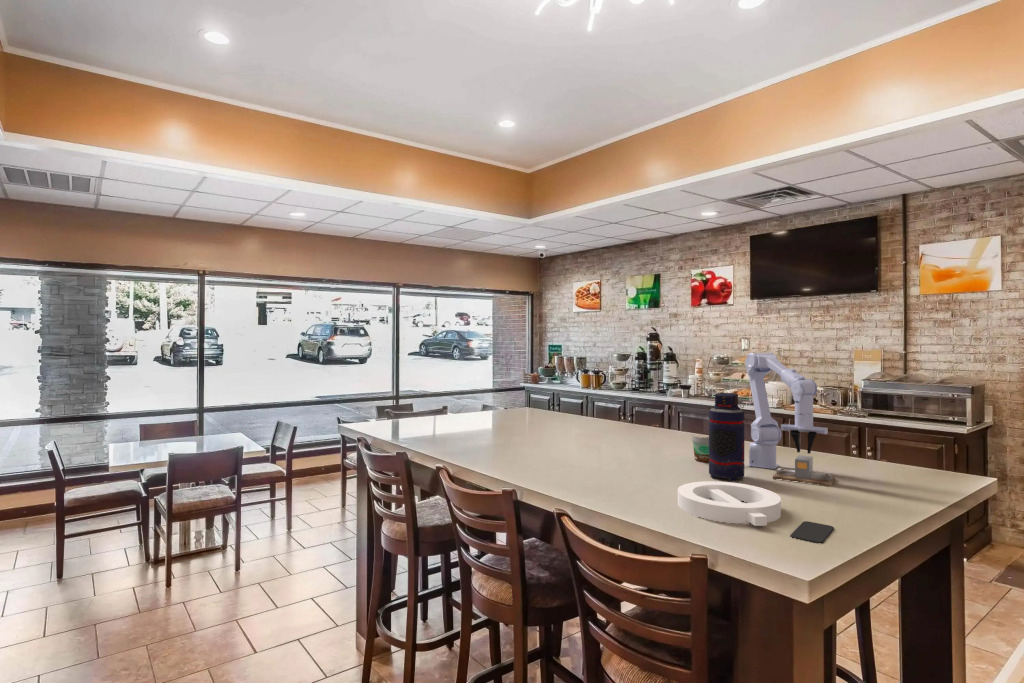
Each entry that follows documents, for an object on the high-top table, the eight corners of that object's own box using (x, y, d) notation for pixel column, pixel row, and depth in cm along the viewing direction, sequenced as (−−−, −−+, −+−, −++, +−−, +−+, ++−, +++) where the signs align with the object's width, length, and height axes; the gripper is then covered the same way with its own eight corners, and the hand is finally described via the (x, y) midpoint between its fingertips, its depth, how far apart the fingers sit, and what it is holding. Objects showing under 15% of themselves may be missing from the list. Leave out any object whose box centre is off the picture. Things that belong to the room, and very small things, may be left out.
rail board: (772, 479, 200) (772, 471, 200) (779, 472, 210) (779, 465, 210) (831, 486, 189) (831, 478, 189) (834, 479, 199) (834, 471, 199)
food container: (691, 462, 226) (691, 437, 226) (690, 459, 232) (691, 435, 232) (724, 464, 223) (724, 439, 223) (723, 461, 229) (723, 436, 229)
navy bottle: (738, 483, 194) (739, 395, 194) (704, 478, 201) (704, 393, 201) (749, 475, 205) (749, 392, 205) (716, 471, 212) (716, 390, 212)
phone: (788, 535, 141) (803, 520, 153) (788, 539, 141) (803, 523, 153) (822, 542, 136) (834, 526, 148) (822, 546, 136) (835, 529, 148)
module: (794, 477, 198) (794, 459, 198) (798, 473, 204) (798, 455, 204) (809, 479, 195) (809, 460, 195) (812, 474, 202) (812, 456, 202)
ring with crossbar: (698, 491, 185) (698, 476, 185) (791, 507, 167) (791, 491, 167) (662, 511, 163) (662, 495, 163) (764, 533, 146) (764, 514, 146)
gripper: (779, 413, 200) (779, 452, 200) (826, 416, 192) (825, 456, 192) (782, 411, 206) (782, 448, 206) (828, 414, 198) (828, 453, 198)
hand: (803, 452), depth 199 cm, fingers open, 3 cm apart
